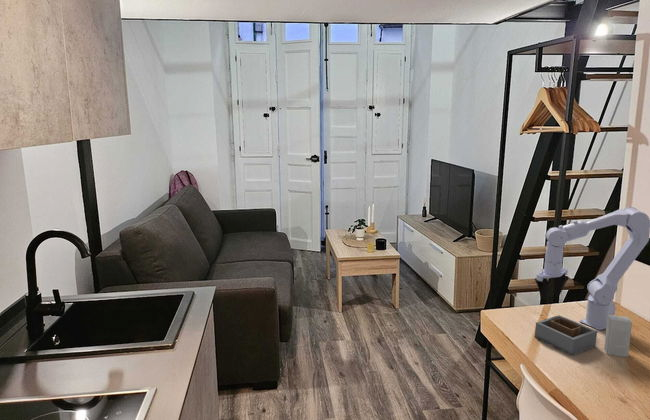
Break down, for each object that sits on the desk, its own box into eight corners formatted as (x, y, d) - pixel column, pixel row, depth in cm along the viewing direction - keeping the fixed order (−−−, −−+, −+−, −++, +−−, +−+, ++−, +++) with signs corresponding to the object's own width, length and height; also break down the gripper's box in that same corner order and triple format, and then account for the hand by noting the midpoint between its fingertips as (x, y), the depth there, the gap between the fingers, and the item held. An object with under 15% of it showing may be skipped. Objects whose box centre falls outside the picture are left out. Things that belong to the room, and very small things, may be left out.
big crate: (557, 329, 167) (559, 315, 166) (595, 346, 155) (597, 331, 154) (534, 337, 162) (535, 322, 161) (571, 355, 150) (573, 339, 149)
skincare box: (624, 351, 152) (629, 316, 150) (628, 357, 148) (632, 322, 146) (603, 348, 154) (607, 314, 152) (606, 354, 150) (610, 319, 148)
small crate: (558, 332, 163) (560, 317, 162) (580, 342, 156) (581, 326, 155) (548, 335, 161) (550, 320, 160) (570, 345, 154) (571, 330, 153)
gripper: (557, 254, 177) (553, 288, 180) (530, 260, 171) (527, 295, 174) (574, 259, 171) (570, 294, 174) (547, 266, 165) (544, 302, 167)
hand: (550, 295), depth 173 cm, fingers open, 7 cm apart
